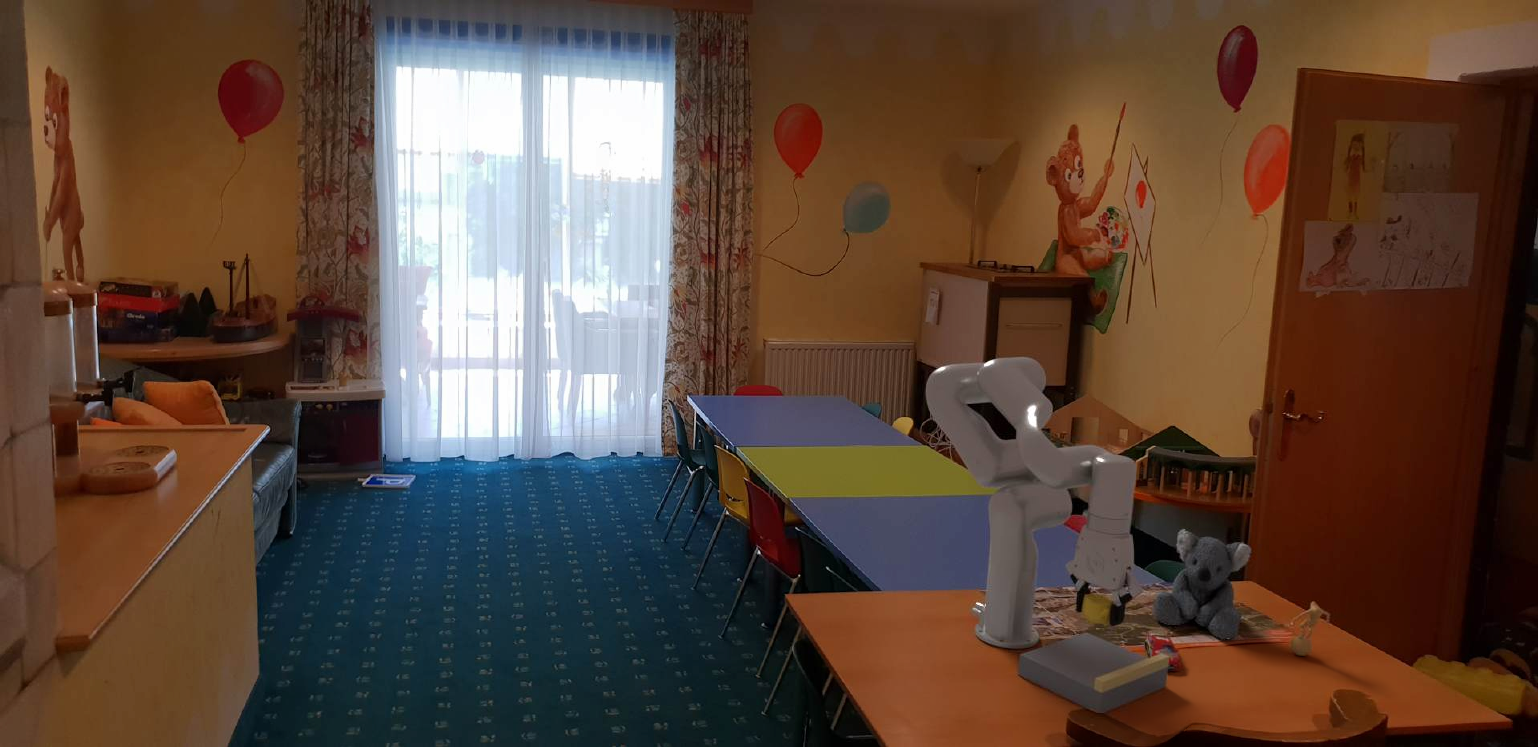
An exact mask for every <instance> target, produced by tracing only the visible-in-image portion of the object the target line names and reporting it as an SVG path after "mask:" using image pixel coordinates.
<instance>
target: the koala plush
mask: <svg viewBox="0 0 1538 747" xmlns="http://www.w3.org/2000/svg"><path fill="white" fill-rule="evenodd" d="M1176 540H1177V543H1176V545H1175V546H1176V547H1177V548H1176V553H1179V558H1180V559H1181V560H1182V563H1184V565H1185V568H1184V569H1183V570H1181V571H1180V572H1179V573H1178V575H1177V576H1176V577H1175V579H1174V581H1173V584H1172V587H1171V592H1170V591H1167V590H1166V591H1165V590H1162V591H1159V593H1158V594H1157V595H1156V598H1155V599H1154V602H1153V604H1152V606H1153V611H1152V612H1153V613H1152V614H1153V616H1154V619H1156V620H1157V621H1158V622H1159V621H1160V622H1162V623H1166V624H1169V625H1177V626H1182V625H1181V624H1183V625H1185V624H1187V622H1188V623H1189V621H1191V620H1192V621H1194V622H1196V624H1198V625H1199V626H1200V627H1205V628H1207V631H1208V630H1209V631H1210V632H1209V631H1208V632H1209V633H1210V634H1211V635H1212V636H1214V635H1215V636H1217V637H1220V638H1222V639H1221V640H1223V639H1224V640H1225V639H1227V640H1229V639H1228V638H1231V639H1232V637H1233V638H1234V637H1236V636H1237V633H1238V631H1239V627H1240V624H1241V620H1242V612H1241V611H1240V610H1239V609H1236V607H1235V606H1234V599H1235V598H1234V597H1235V594H1234V593H1235V591H1234V587H1233V584H1232V582H1231V581H1230V580H1228V577H1229V576H1230V574H1231V573H1233V572H1234V573H1236V572H1238V571H1239V570H1241V568H1243V567H1245V566H1246V565H1247V562H1249V558H1251V555H1250V554H1252V548H1251V547H1250V546H1249V545H1247V544H1245V543H1244V541H1242V542H1238V541H1237V542H1233V543H1229V544H1225V543H1223V541H1221V540H1220V539H1218V538H1214V537H1212V536H1204V537H1198V536H1197V535H1196V534H1193V533H1192V532H1191V531H1188V530H1186V529H1185V528H1182V529H1180V531H1178V532H1177V537H1176ZM1193 619H1194V620H1193ZM1192 621H1191V622H1192ZM1160 622H1159V623H1160ZM1184 623H1185V624H1184ZM1215 636H1214V637H1215ZM1217 637H1216V638H1217Z"/></svg>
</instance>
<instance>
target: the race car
mask: <svg viewBox="0 0 1538 747" xmlns="http://www.w3.org/2000/svg"><path fill="white" fill-rule="evenodd" d="M1144 650H1145V651H1146V655H1147V658H1151V657H1153V656H1156V655H1159V654H1161V653H1162V654H1164V655H1167V656H1169V664H1168V672H1177V671H1180V670H1181V659H1180V657H1179V655H1178V652H1180V649H1176V648H1175V644H1174V643H1173V641H1172V639H1171V637H1170V636H1168V635H1166V634H1161V633H1154V632H1151V633H1148V634H1147V635H1146V637H1145V640H1144Z"/></svg>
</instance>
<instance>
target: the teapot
mask: <svg viewBox="0 0 1538 747" xmlns="http://www.w3.org/2000/svg"><path fill="white" fill-rule="evenodd" d="M1112 604H1115V602H1114V599H1111V598H1109V597H1108V596H1106V595H1105V594H1099V593H1093V592H1091V593H1090V594H1085V595H1084V599H1083V604H1082V612H1081V614H1082V616H1083V618H1084V620H1085V621H1087V622H1089V624H1088V625H1089V626H1093V627H1095V626H1096V625H1100V624H1101V625H1102V626H1105V627H1108V626H1109V625H1110V624H1109V623H1110V613H1111V605H1112Z"/></svg>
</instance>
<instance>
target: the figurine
mask: <svg viewBox="0 0 1538 747" xmlns="http://www.w3.org/2000/svg"><path fill="white" fill-rule="evenodd" d="M1307 615H1308V619H1307V618H1306V619H1304V621H1303V622H1301V623H1300V624H1299V626H1300V629H1301V633H1302V634H1300V635H1296V636H1294V637H1293V638H1291V640H1290V644H1289V645H1290V649H1291V651H1292V653H1293V654H1295V655H1297V656H1300V657H1305V656H1308V655H1309V654H1310V653H1312V651H1313V644H1312V641H1311V640H1310V637H1311V636H1312V634H1313V632H1314V630H1313V629H1312V628H1314V627H1316V625H1318V623H1319V619H1320V617H1322V616H1323V615H1325V616H1326V619H1325V620H1324V622H1325V623H1324V624H1326V625H1328V624H1329V623H1330V617H1331V614H1330V613H1329V612H1327V611H1325V610H1324V609H1322V608H1320V606H1319V605H1318V604H1317V603H1316V602H1315V601H1312V602H1310V608H1309V609H1308V610H1305V611H1304V612H1302V613H1300V614H1299V615H1298V616H1296V617H1294V618H1293V619H1292V620H1291V622H1290V623H1289V625H1290V626H1291V625H1292V623H1293V622H1296V621H1297V620H1299V619H1300V618H1302V617H1303V616H1307ZM1305 627H1308V632H1309V633H1308V634H1307V635H1306V629H1305Z"/></svg>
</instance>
